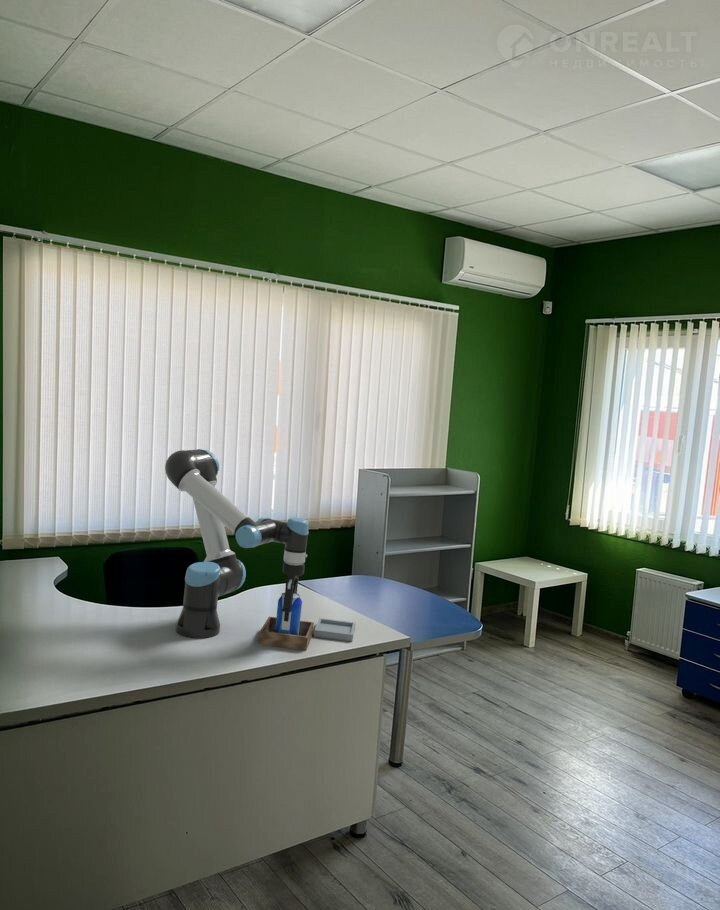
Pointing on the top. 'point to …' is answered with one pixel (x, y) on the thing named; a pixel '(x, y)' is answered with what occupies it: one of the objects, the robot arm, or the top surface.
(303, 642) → the crate
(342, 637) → the tray
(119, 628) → the top surface
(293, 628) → the beer can
